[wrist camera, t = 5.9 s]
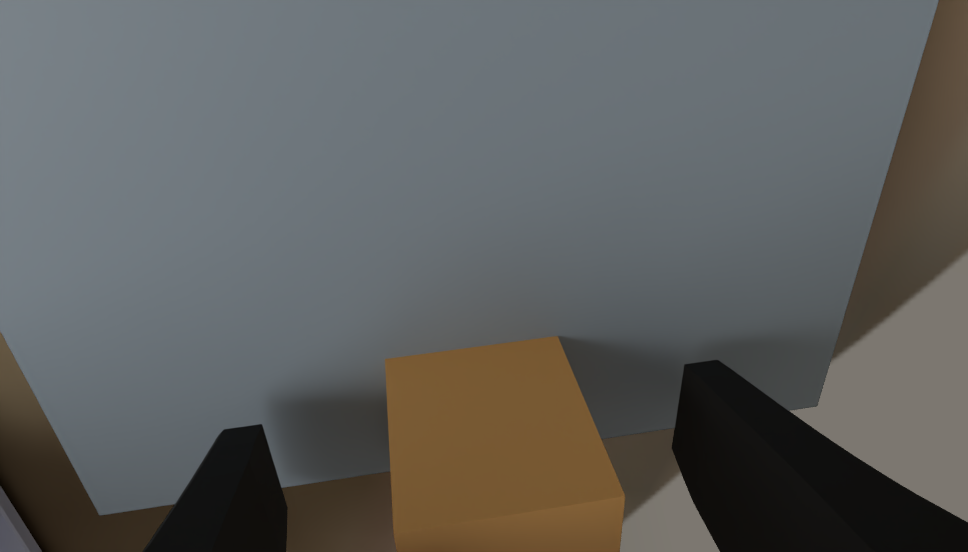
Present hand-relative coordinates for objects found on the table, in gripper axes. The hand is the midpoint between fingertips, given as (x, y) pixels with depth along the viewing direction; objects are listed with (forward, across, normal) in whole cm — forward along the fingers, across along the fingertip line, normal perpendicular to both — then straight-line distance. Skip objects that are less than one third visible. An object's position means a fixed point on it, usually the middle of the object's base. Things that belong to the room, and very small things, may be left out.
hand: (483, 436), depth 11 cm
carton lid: (+1, 0, -5) cm, 5 cm away
